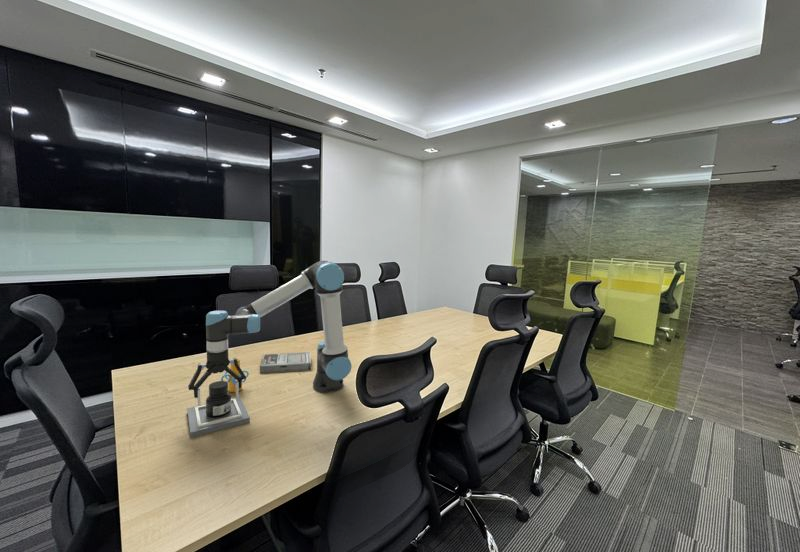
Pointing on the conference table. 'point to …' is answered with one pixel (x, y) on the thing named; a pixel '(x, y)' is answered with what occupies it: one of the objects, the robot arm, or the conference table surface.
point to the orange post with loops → (231, 379)
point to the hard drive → (285, 362)
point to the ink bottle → (218, 400)
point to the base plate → (205, 424)
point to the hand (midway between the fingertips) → (218, 400)
